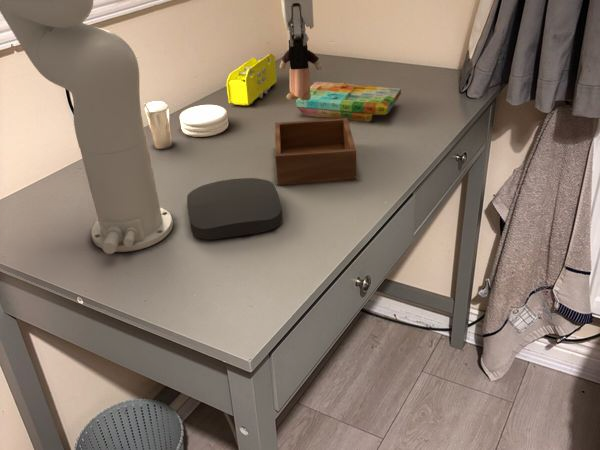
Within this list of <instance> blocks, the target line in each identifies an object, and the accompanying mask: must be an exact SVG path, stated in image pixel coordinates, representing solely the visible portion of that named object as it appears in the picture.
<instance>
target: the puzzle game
mask: <svg viewBox="0 0 600 450" xmlns="http://www.w3.org/2000/svg"><path fill="white" fill-rule="evenodd" d="M401 94H402V88H398V87H397V88H396V87H385V86H384V87H383V86H371V85H361V84H351V83H345V82H340V83H337V82H327V81H315V82H313V83H312V85H310V95H311V98H310V99H309V100H300V97H297V98H296V99H295V107H296V109H298V110H299V112H300V113H301V114H302V115H303V116H304V117H305V116H306V117H316V118H327V119H340V118H347V119H348V121H358V122H359V121H360V122H371V121H372V119H373V118H374V117H375V116H386V115H387V114H389V112H390V111H391V109H392V108H393V106H394V105H395V103H396V102H397V100H398V99H399V98H400V96H401Z"/></svg>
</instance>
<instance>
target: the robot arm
mask: <svg viewBox="0 0 600 450" xmlns="http://www.w3.org/2000/svg"><path fill="white" fill-rule="evenodd" d="M313 2H314V1H313V0H280V3H281V4H280V5H281V11H282V17H283V23H284V28H285V29H286V30H287V31H288V33H289V34H290V37H289V39H288V50H289V57H290V61H289V69H290V68H291V69H292V70H293V69H307V68H308V65H309V61H308V50H309V49H308V41H307V42H306V34H307V33H306V28H309V29H310V30H312V29H313V28H314V25H315V24H314V23H315V22H314V5H313V4H314V3H313ZM93 7H94V0H0V13H1V15H2V17H3V20H5V22H6V24H7V25H8V27H9V28H10V30H11V32H12V33H13V36H14V37H15V38H16V40H17V42H18V43H19V45H20V47H21V48H22V50H23V51H24V53H25V55H26V56H27V58H28V60H29V61H30V62H31V64H32V65H33V66H34V68H35V69H36V70H37V71H38V73H39V74H40V75H41V76H42V77H43V78H45V79H46V80H48V81H49V82H50V83H53V84H54V85H57V86H58V87H60V88H63V89H64V90H66V91H67V92H70V94H71V96H72V102H73V127H74V132H75V136H76V141H77V144H78V148H79V150H80V154H81V158H82V163H83V165H84V169H85V174H86V177H87V181H88V184H89V189H90V194H91V198H92V200H93V204H94V208H95V212H96V216H97V221H96V222H94V224H93V225H92V227H91V230H90V236H91V239H92V243H94V244H95V246H96V247H98V248H100V249H102V251H103V253H104V254H108V255H112V254H115V253H116V252H117V253H126V252H134V251H140V250H142V249H146V248H149V247H151V246H153V245H156V244H157V243H160V242H161V241H162V240H164V239H165V238H166V237H167V236H169V234H170V233H171V231H172V229H173V226H174V221H173V216H172V214H171V213H170V212H169V211H168V210H167V209H165V208H163V207H161V205H160V202H159V201H160V200H159V196H158V191H157V185H156V181H155V180H156V179H155V175H154V170H153V165H152V160H151V154H150V151H149V150H150V149H149V145H148V140H147V134H146V130H145V125H144V121H143V114H142V107H141V106H142V105H141V97H140V93H141V92H140V68H139V62H138V58H137V57H136V54H135V52H134V50H133V49H132V47H131V46H130V45H129V43H127V42H126V41H125V40H124V39H123V38H122V37H120V36H119V35H117V34H116V33H114V32H112V31H109V30H107V29H105V28H101V27H98V26H95V25H91V24H86V23H84V21H85V20H86V19H87V18H88V17H89V16H90V14H91V12H92V10H93ZM292 32H294V34H292ZM301 32H302V33H301ZM305 33H306V34H305Z"/></svg>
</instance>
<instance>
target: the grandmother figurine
mask: <svg viewBox="0 0 600 450" xmlns="http://www.w3.org/2000/svg"><path fill="white" fill-rule="evenodd" d="M301 33H302V32H301ZM292 34H294V32H292ZM305 34H306V42H307V43H308V41H309V39H310V38H309V37H308V34H307V32H305ZM288 37H289V38H290V34H289V35H288ZM319 59H320V58H319V57H318V56H317V55H316V54H315V53H314V52H313V51H311V50H309V49H308V63H311V64H313V65H314V66H315V69H316V70H317V71H321V70H322V64H321V63H320V60H319ZM289 62H290V57H289V49H288V50H287V51H285V53H284V54H283V56H282V57H281V61H280V64H279V69H280V70H285V69H286V65H288V63H289ZM310 87H311V73H310V66H309V64H308V68H307V69H293V70H292V69H291V68H290V67H289V93H287V95H286V99H287V100H297V99H298V98H299V97H300V100H309V99H310V98H311V95H310Z"/></svg>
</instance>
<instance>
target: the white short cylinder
mask: <svg viewBox="0 0 600 450" xmlns="http://www.w3.org/2000/svg"><path fill="white" fill-rule="evenodd" d="M228 120H229V117H228V111H227V109H226V108H224V107H223V106H220V105H217V104H202V105H196V106H191V107H189V108H187V109H184V110H183V111H182V112H181V113H180V114H179V121H180V128H181V131H182V133H183V134H185V135H186V136H189V137H194V138H204V137H205V138H206V137H213V136H217V135H219V134H221V133H223V132H224V131H226V130H227V129H228V127H229V121H228Z"/></svg>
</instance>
